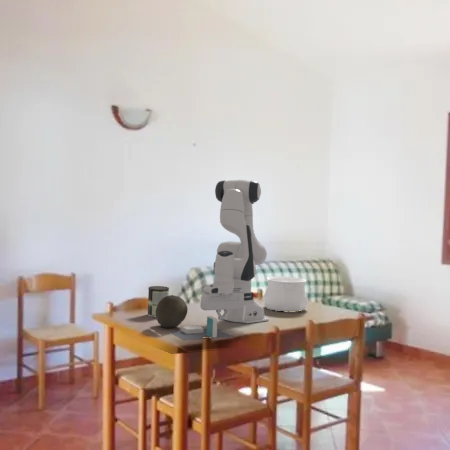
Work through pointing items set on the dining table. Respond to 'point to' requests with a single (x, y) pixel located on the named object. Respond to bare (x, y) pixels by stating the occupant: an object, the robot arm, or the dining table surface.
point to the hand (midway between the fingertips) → (221, 319)
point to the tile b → (211, 326)
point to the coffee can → (156, 298)
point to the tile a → (192, 329)
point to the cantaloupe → (171, 311)
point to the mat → (199, 335)
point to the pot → (285, 294)
